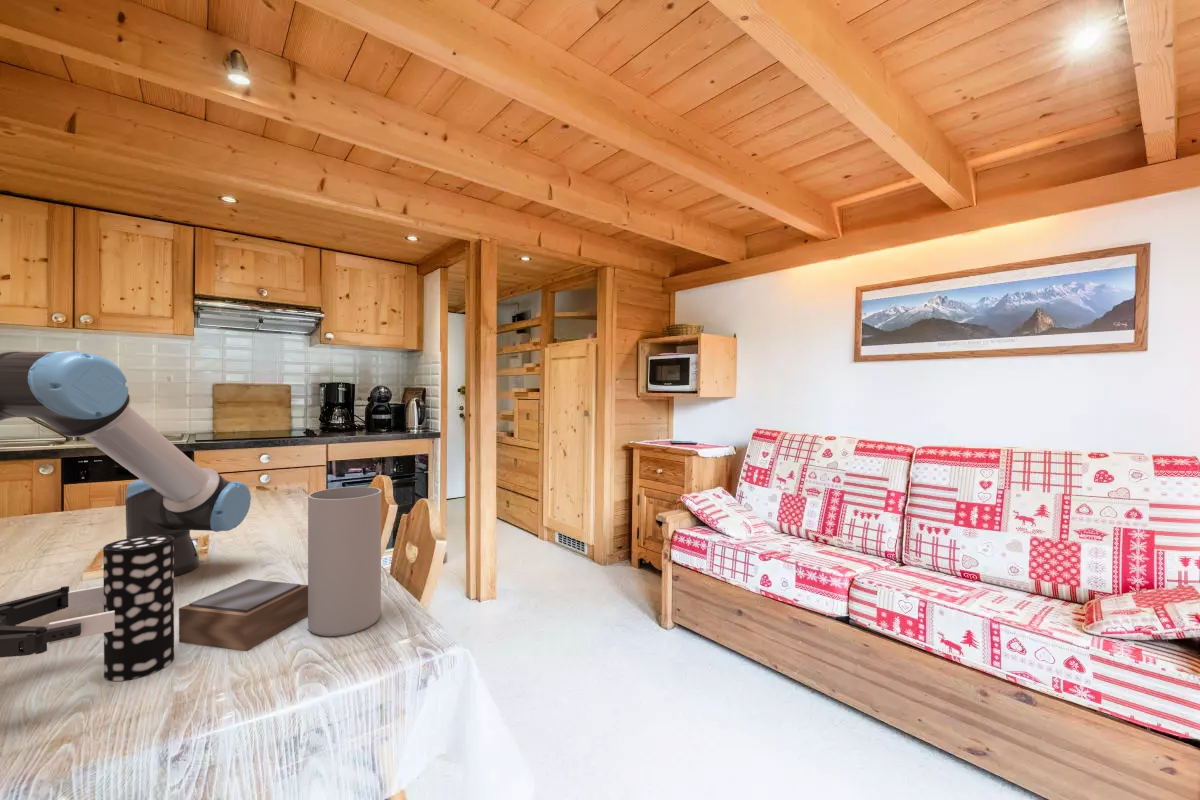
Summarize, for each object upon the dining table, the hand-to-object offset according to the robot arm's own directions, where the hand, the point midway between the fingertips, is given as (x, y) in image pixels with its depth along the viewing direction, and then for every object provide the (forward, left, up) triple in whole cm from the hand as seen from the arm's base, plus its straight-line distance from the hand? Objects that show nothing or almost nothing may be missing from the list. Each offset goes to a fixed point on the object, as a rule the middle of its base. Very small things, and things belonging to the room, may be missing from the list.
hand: (120, 604), depth 79 cm
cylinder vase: (+22, +23, -11) cm, 34 cm away
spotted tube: (+1, +2, -11) cm, 11 cm away
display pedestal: (+6, +17, -11) cm, 21 cm away
